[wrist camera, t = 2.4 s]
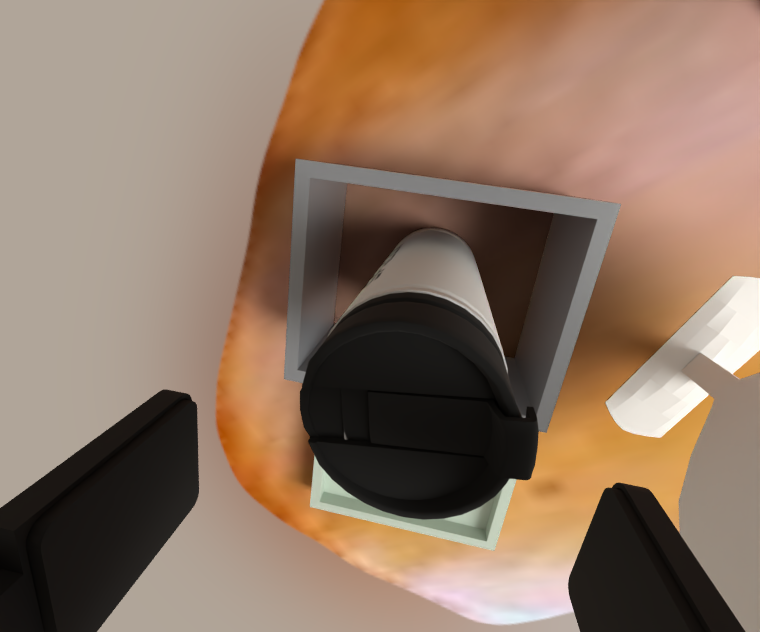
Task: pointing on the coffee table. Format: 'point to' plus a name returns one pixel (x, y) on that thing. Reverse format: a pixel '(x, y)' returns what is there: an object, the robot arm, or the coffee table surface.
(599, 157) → the coffee table surface
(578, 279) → the deep bin
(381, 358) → the travel mug
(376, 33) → the coffee table surface
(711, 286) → the coffee table surface
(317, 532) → the coffee table surface
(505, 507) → the tray
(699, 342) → the heart sculpture
